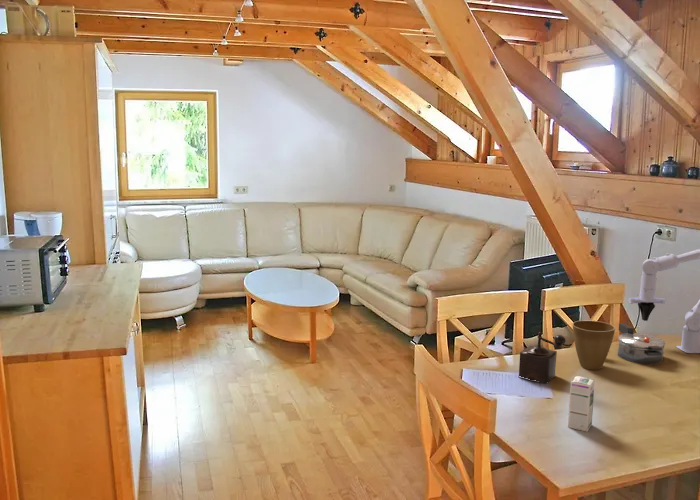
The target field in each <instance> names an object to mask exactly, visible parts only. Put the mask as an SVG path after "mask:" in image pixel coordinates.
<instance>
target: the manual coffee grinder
mask: <svg viewBox="0 0 700 500" xmlns="http://www.w3.org/2000/svg"><path fill="white" fill-rule="evenodd" d="M542 335H543V333H542V332H541V331H539V332H538V333H537V345H535V346H534V345H529V346H527V347H526V348H524V349H523V350H521V351H520V352H519V363H518V364H519V367H518V377H519V376H521V377H524V378H528V379H530V380H536V381H539V382H538V383H541V382H543V383H542V384H547V382H548V383H549V382H551V381H552V380H553V379H554V377H555V376H556V367H557V365H556V364H557V355H558V352H557V351H555V350H562V347H563V345H564V344H565V343H566V338H565V336H563V335H562V334H557V335H555V336H554V341H551V340H549V339H546V338H544V337H543V336H542ZM541 341H543V342H545V343H548V344H550V345H552V346H553V348H555V350H553V349H548V348H546V347H544V346H542V345H541ZM530 380H529V381H530ZM536 381H535V382H536Z"/></svg>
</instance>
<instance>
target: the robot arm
mask: <svg viewBox="0 0 700 500" xmlns="http://www.w3.org/2000/svg"><path fill="white" fill-rule="evenodd" d="M696 260H700V248H697V249H694V250H692V251H691V250H690V251H687V252H684V253H681V254H678V255H676V254H674V253H669V252H666V253H665V255H662V256H659V257H656V256H654V257H652V258H647V259H645V260H644V261H643V263H642V264H641V268H642V272H641V277H640V288H639V296H637V297H628V301H627V302H628V303H629V304H637V305H638V308H639V310H640V314H641V320H642V321H644V322H645V321H646V322H648V321H649V317H650V316H651V313H652V312H653V310H654V309H655V308H656V304H661V305H662V304H663V305H665V303H666V299H665V298H664V297H656V287H657V273H658V272H663V271H667V270H671V269H674V268H675V269H676V268H677V267H678V266H679V265H680V264H683V263H686V262H691V261H696ZM684 321H685V325H683V326H682V334H681V343H680V345H676V346H675V347H676V348H677V349H678V350H681V351H682V352H684V353H685V354H700V299H699V300H698V301H697V303H696V304H694V306H693V307H692V308H691V309H690V310H689V311H687V312H686V313H685V315H684Z"/></svg>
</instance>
